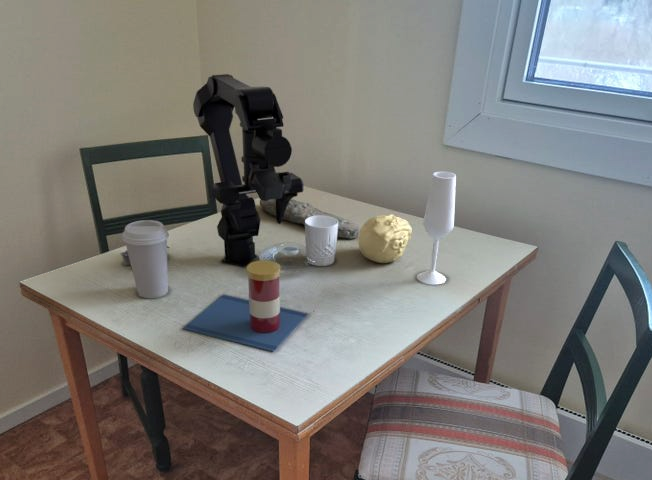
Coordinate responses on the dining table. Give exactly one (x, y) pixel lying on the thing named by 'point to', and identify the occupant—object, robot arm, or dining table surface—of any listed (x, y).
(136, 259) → the coffee cup
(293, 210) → the elongated rock
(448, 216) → the champagne flute
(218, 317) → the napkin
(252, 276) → the jam jar
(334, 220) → the white cup
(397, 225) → the sculpture
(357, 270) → the dining table surface
